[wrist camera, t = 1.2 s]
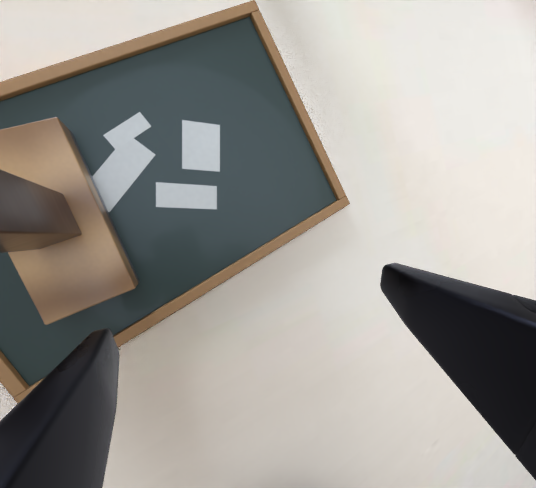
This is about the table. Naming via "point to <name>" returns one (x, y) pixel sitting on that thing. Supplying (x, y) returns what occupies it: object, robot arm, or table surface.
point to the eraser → (58, 222)
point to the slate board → (172, 172)
